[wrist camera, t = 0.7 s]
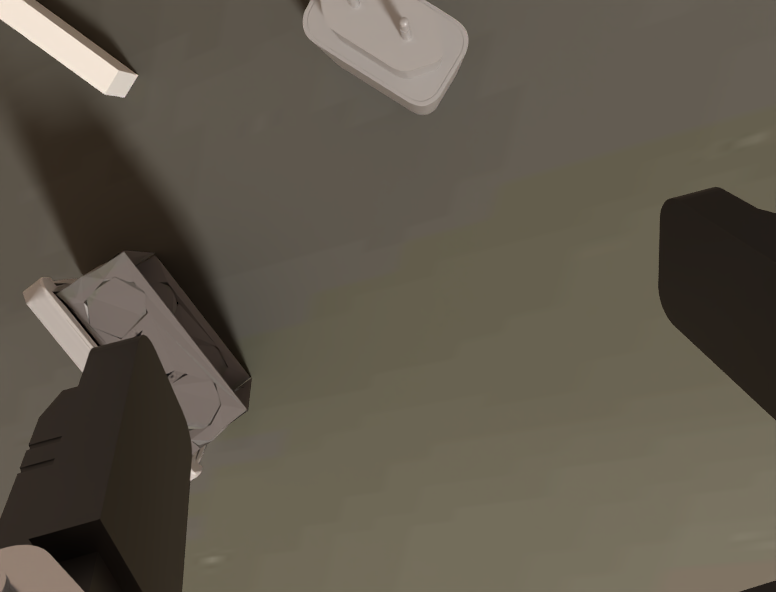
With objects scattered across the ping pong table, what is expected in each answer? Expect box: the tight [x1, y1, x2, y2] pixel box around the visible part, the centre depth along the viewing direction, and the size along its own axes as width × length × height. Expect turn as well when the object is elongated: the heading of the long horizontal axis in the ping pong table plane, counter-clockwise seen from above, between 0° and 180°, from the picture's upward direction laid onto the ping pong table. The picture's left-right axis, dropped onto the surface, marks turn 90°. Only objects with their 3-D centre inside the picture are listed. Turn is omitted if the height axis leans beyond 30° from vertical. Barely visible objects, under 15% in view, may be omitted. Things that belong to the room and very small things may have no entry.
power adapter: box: [303, 0, 468, 115], centre depth 24 cm, size 3×5×12 cm, turn 59°
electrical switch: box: [23, 250, 252, 481], centre depth 29 cm, size 9×5×9 cm, turn 35°
